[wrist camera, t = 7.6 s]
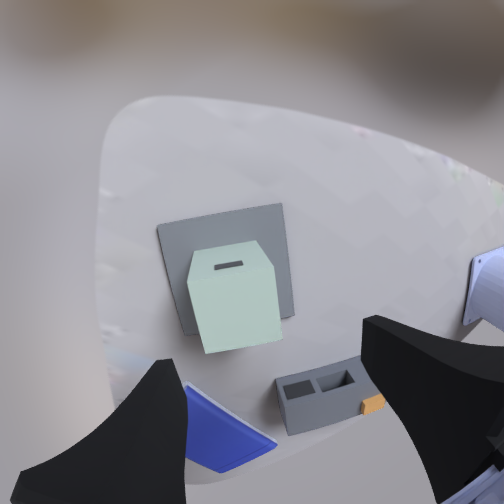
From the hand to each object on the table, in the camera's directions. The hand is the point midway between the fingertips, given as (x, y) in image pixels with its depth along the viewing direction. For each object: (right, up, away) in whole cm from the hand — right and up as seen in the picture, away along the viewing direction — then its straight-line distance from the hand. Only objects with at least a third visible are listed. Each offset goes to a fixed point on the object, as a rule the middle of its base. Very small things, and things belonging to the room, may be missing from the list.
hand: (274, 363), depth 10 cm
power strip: (+6, -8, +13) cm, 16 cm away
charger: (-2, +2, +9) cm, 9 cm away
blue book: (-5, -13, +14) cm, 20 cm away
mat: (-2, +3, +9) cm, 10 cm away
